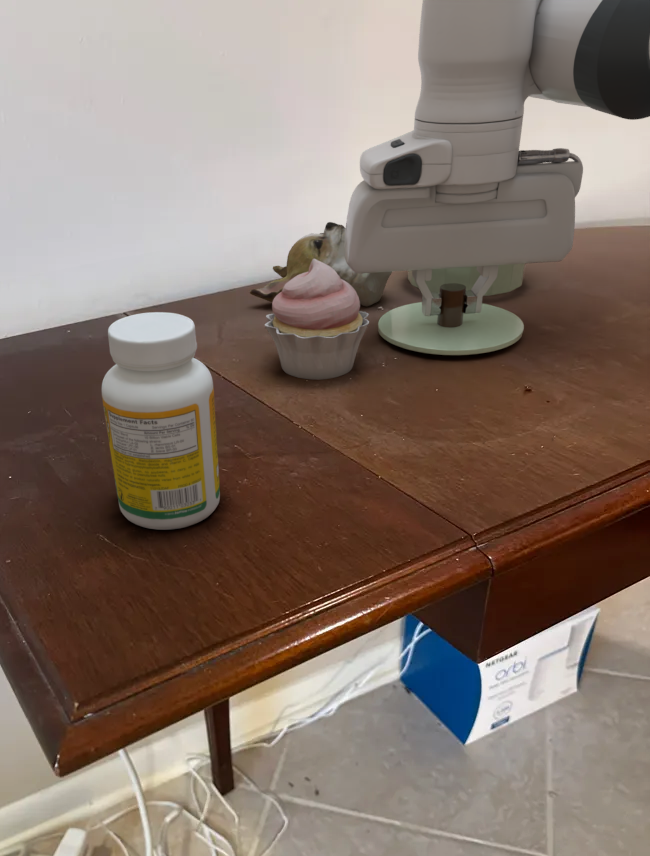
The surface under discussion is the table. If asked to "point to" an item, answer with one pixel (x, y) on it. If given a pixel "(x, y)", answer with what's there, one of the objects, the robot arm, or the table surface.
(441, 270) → the canister
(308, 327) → the cupcake
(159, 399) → the supplement bottle
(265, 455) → the table surface
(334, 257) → the ceramic sculpture
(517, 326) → the canister lid
